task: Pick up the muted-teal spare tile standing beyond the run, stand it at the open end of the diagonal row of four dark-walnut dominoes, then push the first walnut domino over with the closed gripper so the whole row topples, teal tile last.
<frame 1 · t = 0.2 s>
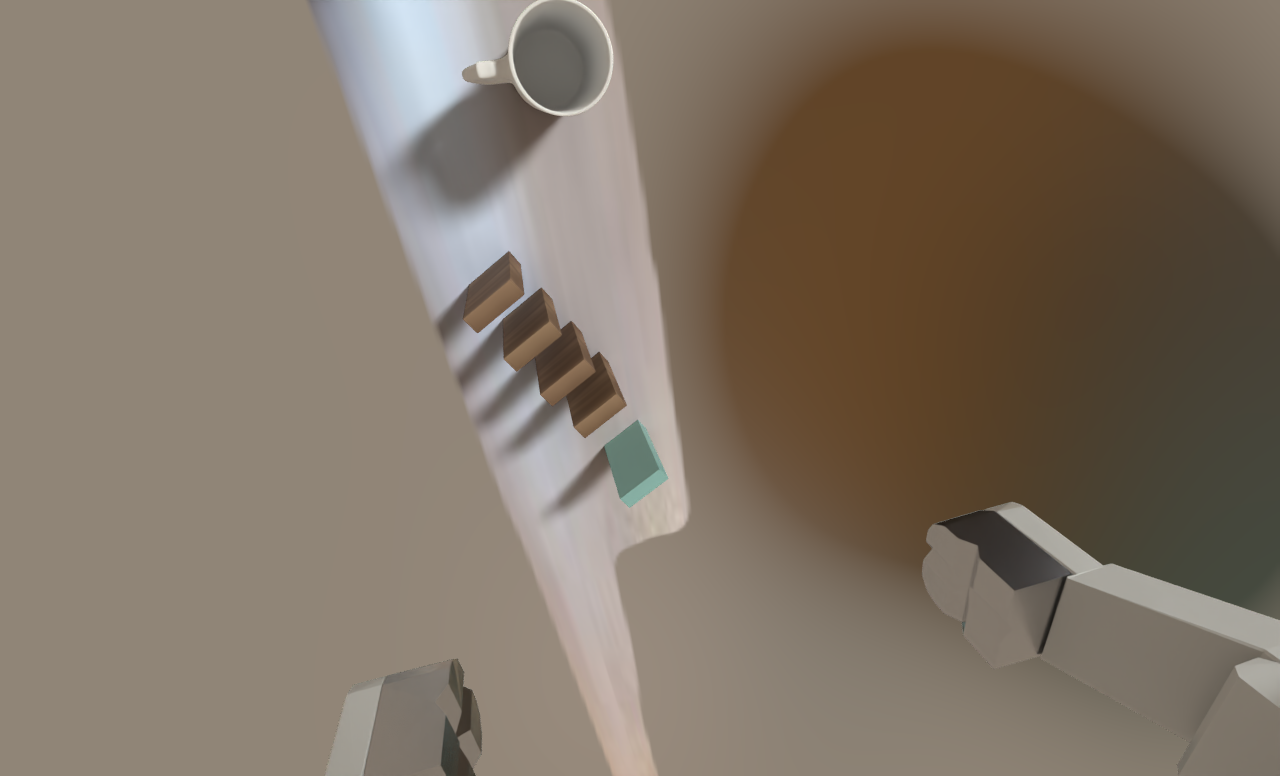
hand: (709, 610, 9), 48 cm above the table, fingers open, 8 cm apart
domino 1: (494, 274, 53), on the table
domino 2: (527, 309, 55), on the table
domino 4: (585, 371, 59), on the table
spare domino: (625, 437, 64), on the table
mug: (528, 72, 46), on the table
domino 3: (557, 341, 57), on the table
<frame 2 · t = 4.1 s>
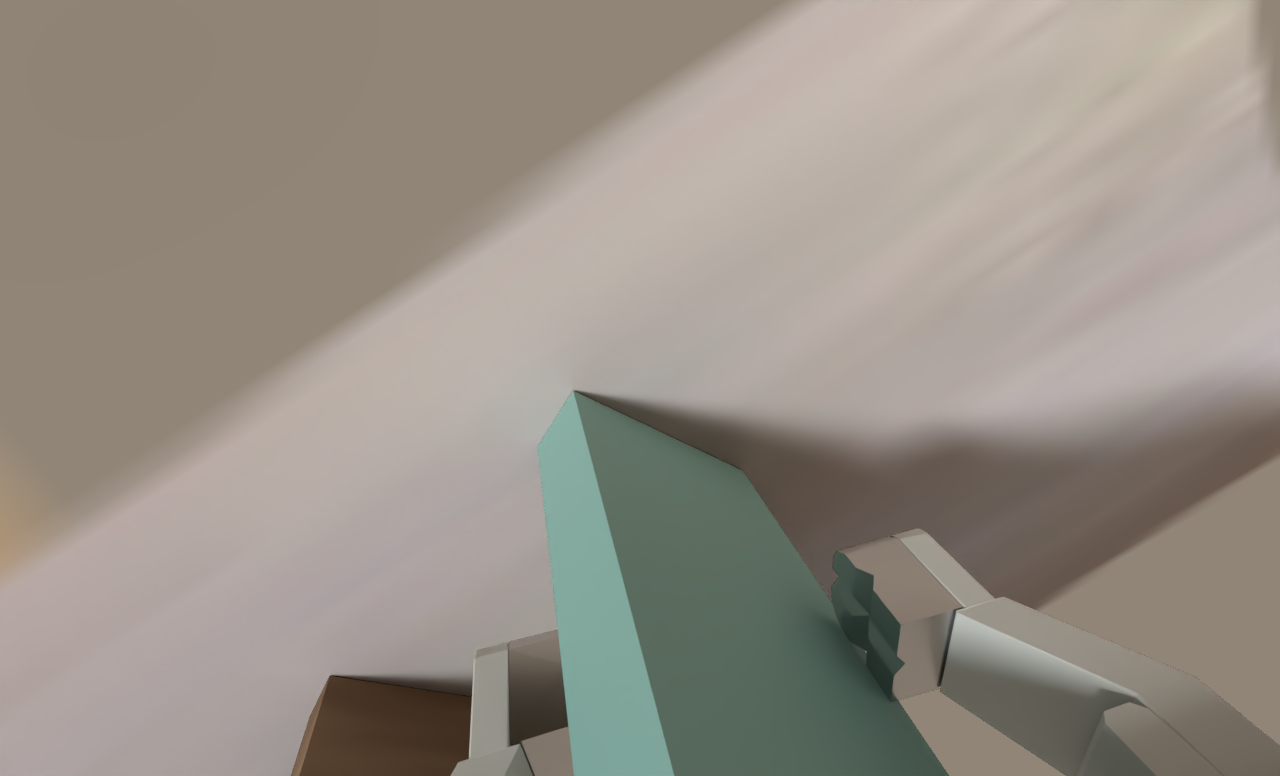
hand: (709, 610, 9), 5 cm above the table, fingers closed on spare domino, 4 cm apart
domino 4: (416, 709, 15), on the table
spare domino: (646, 459, 13), on the table, touching gripper
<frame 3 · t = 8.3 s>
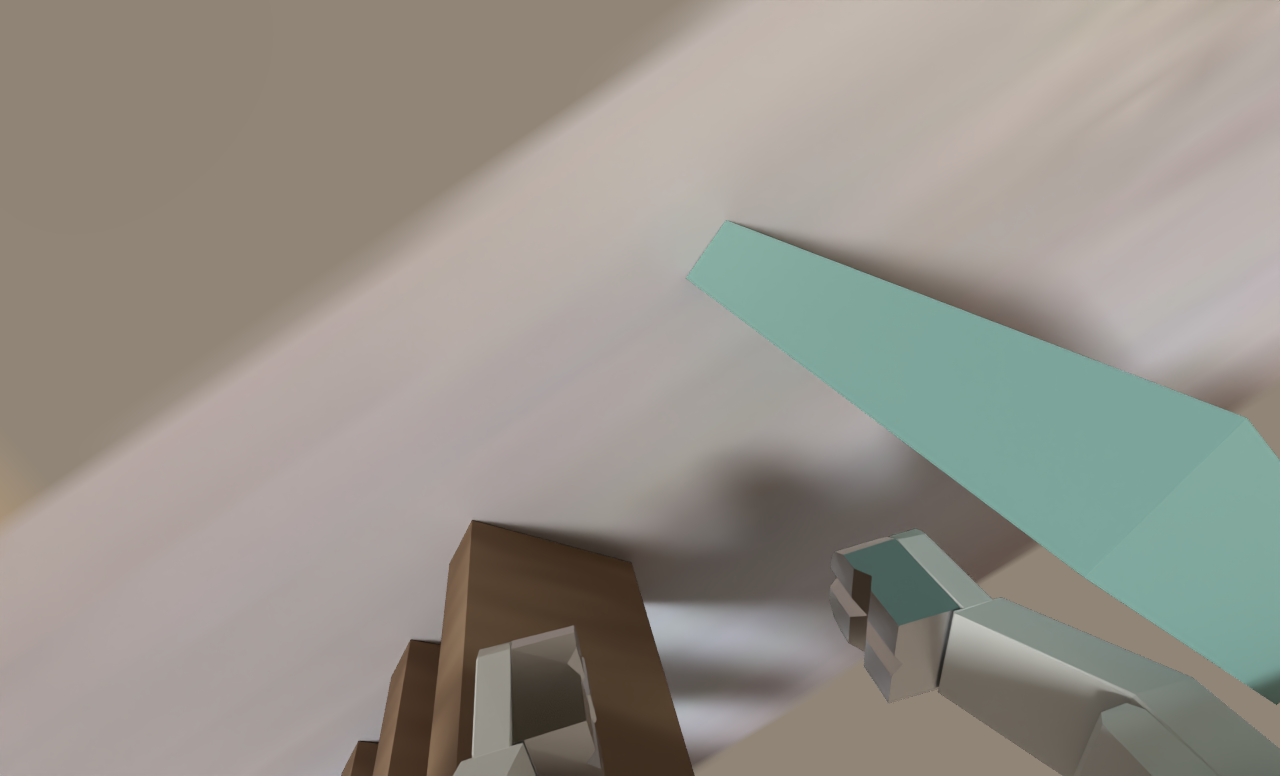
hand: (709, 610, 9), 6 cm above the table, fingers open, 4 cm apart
domino 2: (427, 764, 19), on the table
domino 4: (544, 563, 16), on the table
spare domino: (778, 303, 14), on the table
domino 3: (481, 671, 17), on the table
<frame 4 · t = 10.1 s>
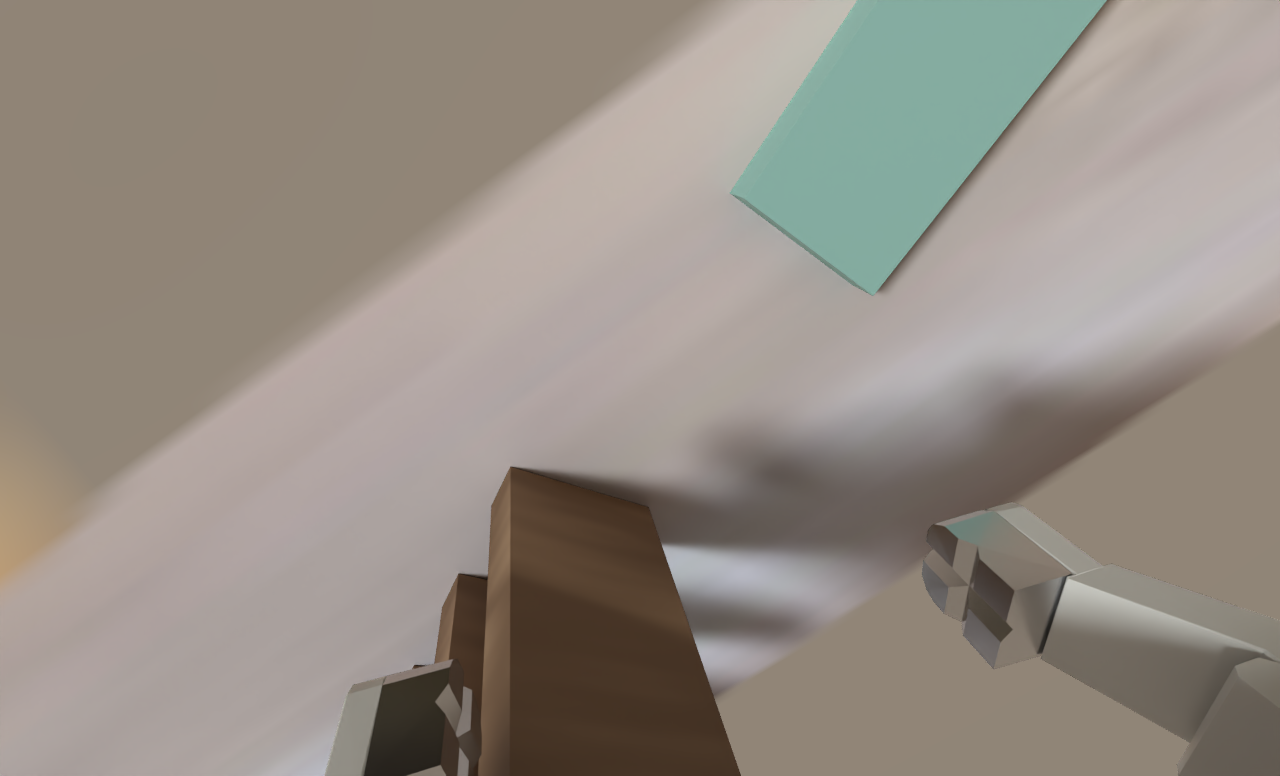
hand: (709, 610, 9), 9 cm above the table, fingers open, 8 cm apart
domino 4: (572, 506, 18), on the table
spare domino: (799, 244, 16), on the table, tilted 90°
domino 3: (519, 604, 20), on the table
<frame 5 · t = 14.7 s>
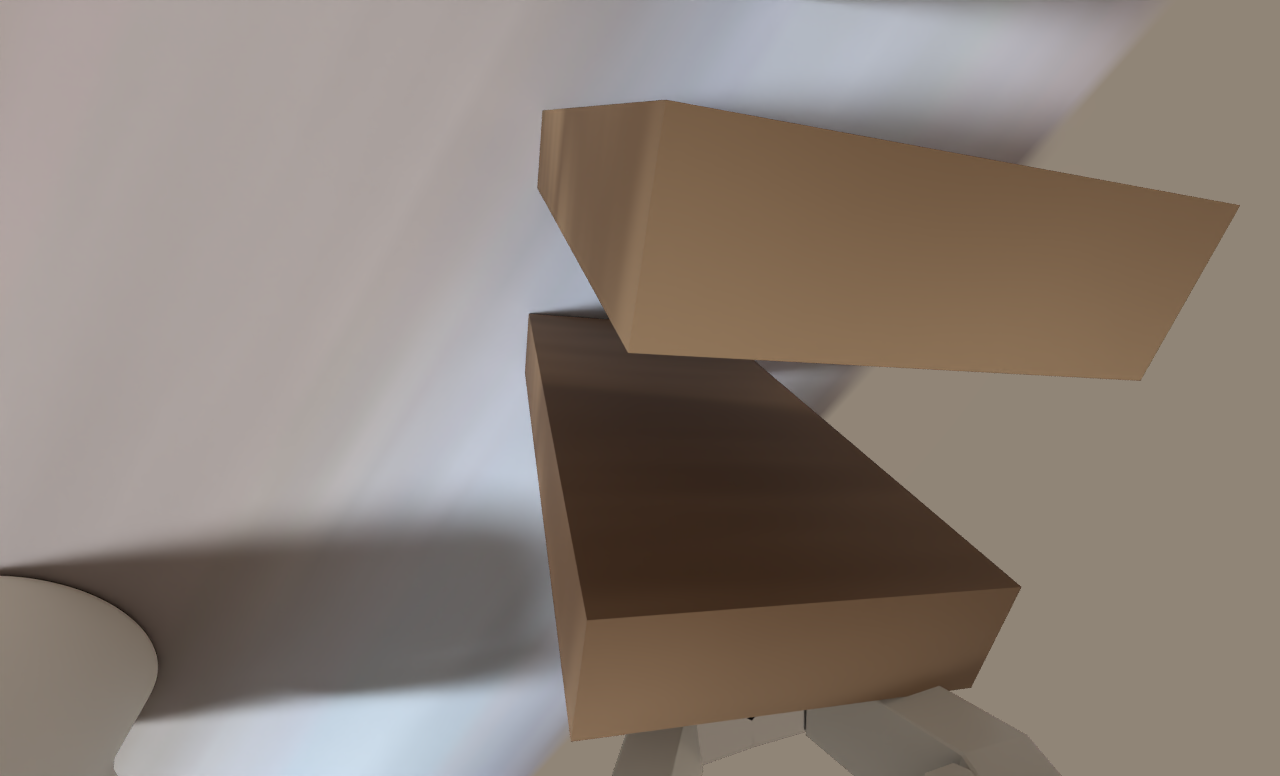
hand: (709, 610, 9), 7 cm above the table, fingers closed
domino 1: (621, 349, 15), on the table, touching gripper
domino 2: (647, 166, 13), on the table
mug: (97, 669, 16), on the table
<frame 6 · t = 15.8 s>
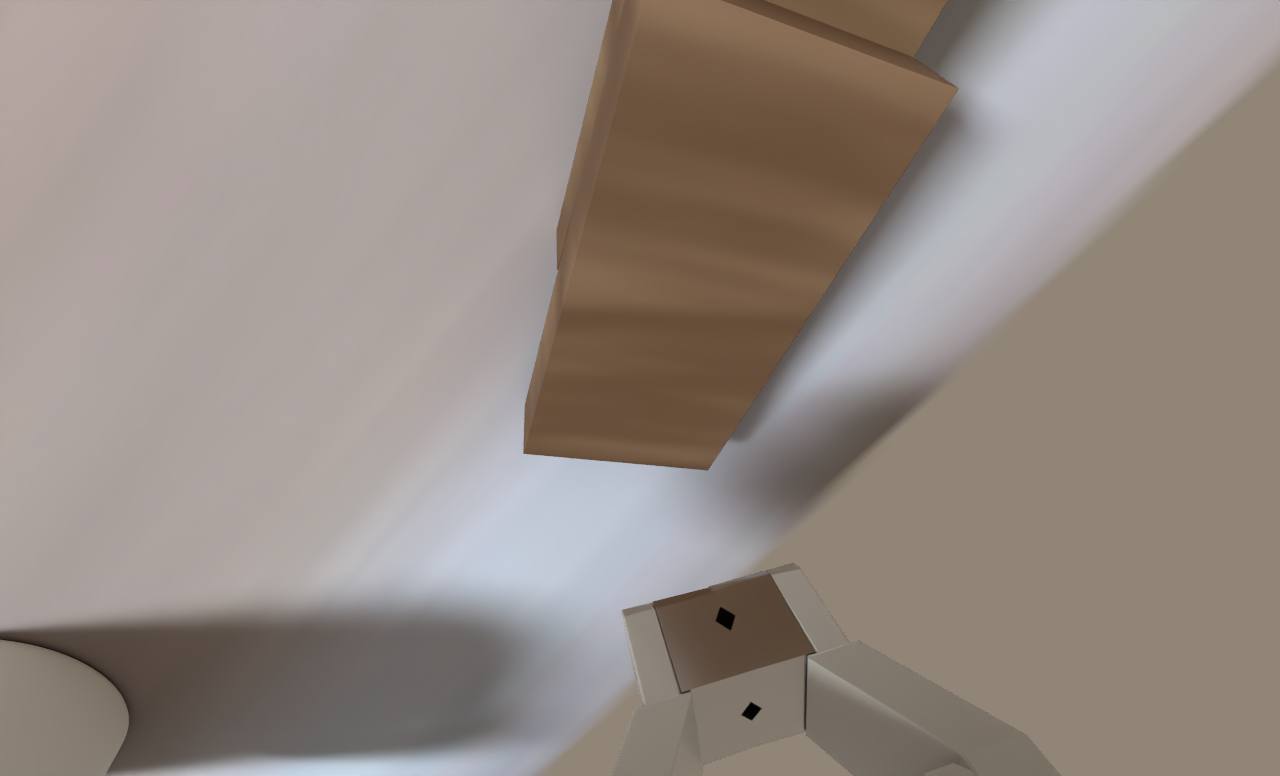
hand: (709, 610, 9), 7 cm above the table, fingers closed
domino 1: (617, 438, 15), point 1 cm above the table, tilted 69°, touching domino 2
domino 2: (660, 271, 13), point 1 cm above the table, tilted 69°, touching domino 1, domino 3
mug: (67, 725, 16), on the table
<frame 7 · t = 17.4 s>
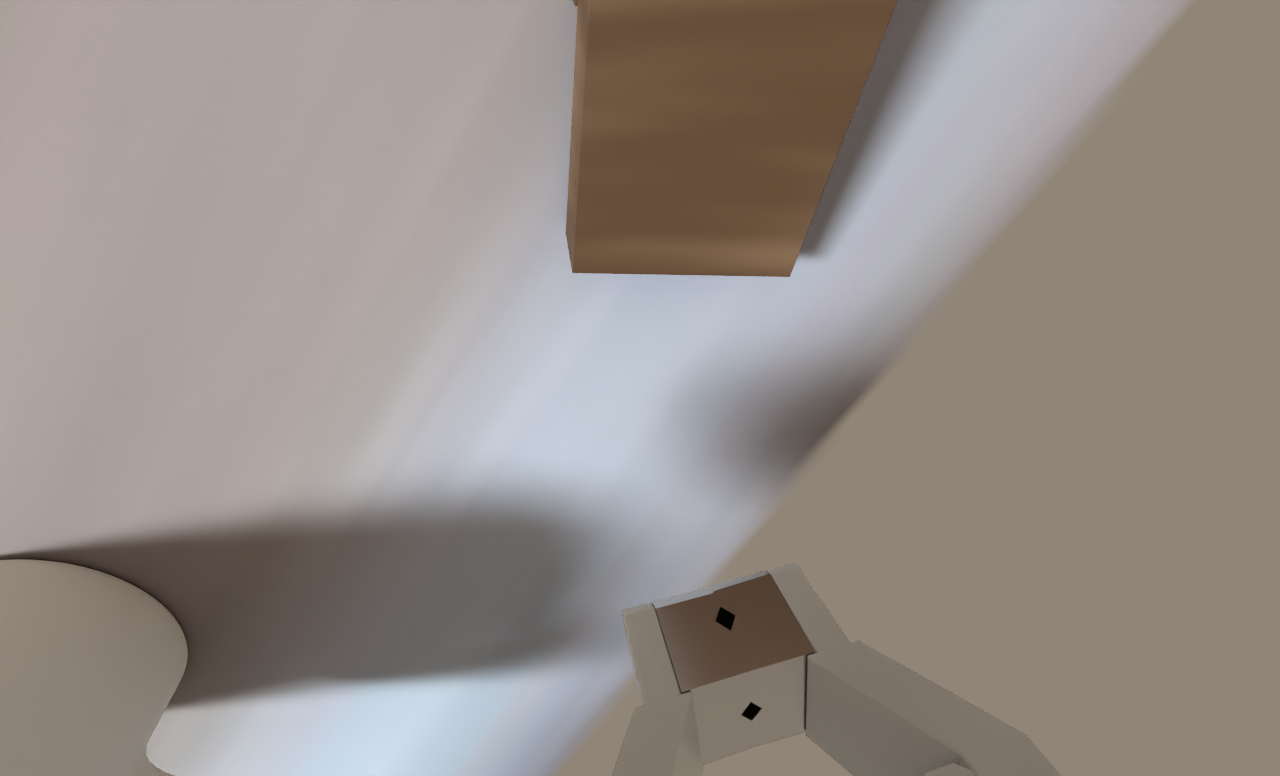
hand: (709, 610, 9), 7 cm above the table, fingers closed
domino 1: (677, 255, 13), point 1 cm above the table, tilted 71°, touching domino 2
mug: (127, 655, 15), on the table
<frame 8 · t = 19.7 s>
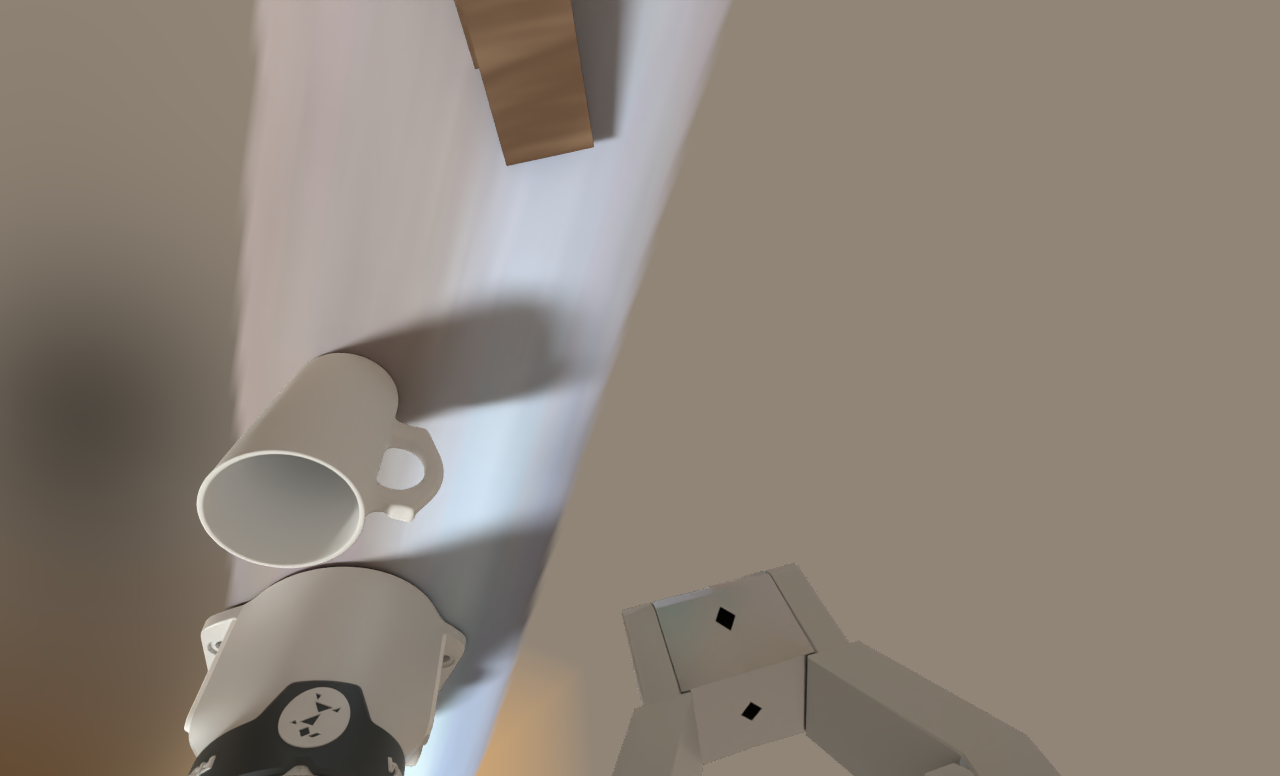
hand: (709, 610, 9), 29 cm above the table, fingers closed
domino 1: (548, 150, 31), point 1 cm above the table, tilted 72°, touching domino 2
domino 2: (520, 54, 29), point 1 cm above the table, tilted 72°, touching domino 1
mug: (374, 400, 37), on the table
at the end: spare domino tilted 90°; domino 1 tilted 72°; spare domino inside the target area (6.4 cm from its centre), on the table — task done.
